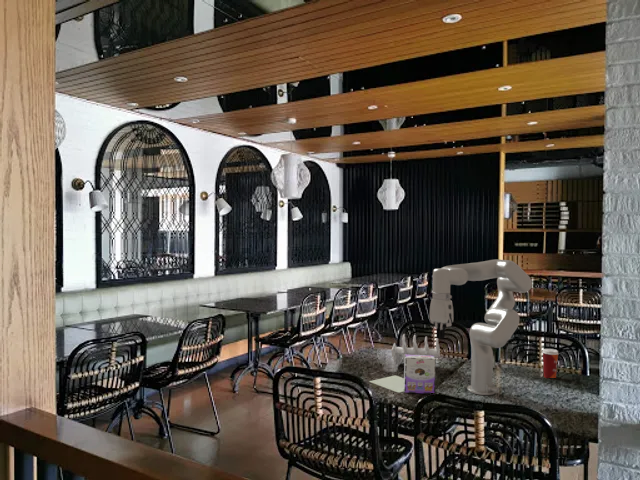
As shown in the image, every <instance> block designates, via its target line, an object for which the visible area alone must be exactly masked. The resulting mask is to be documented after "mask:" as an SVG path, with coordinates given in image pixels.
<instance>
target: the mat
mask: <svg viewBox="0 0 640 480" xmlns="http://www.w3.org/2000/svg"><path fill="white" fill-rule="evenodd" d="M368 383H371V384H374V385H376V386H378V387H382V388H383V389H387V390H389V391H392V392H395V393H397V394H401V393H405V392H404V377H401V376H398V375H391V376H385V377H381V378H377V379H375V380H374V379H373V380H369V381H368Z"/></svg>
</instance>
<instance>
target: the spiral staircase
mask: <svg viewBox="0 0 640 480" xmlns="http://www.w3.org/2000/svg"><path fill="white" fill-rule="evenodd" d="M401 336H402V338H401V346H396V343H395V342H394V343H393V344H392V348H391V357H392V361H393V363H394V365H397V366H400V364H401V363H402V359H403V362H405V354H407V355H427V356H434V357H435V359H436V360H437V358H440V355H441V348H440V344H439V338H437V337H436V339H435V348H429V344H428V336H425V337H424V347H418V344H417V340H416V339H417V336H416V334H414V335H413V337H412V347H407V342H406V333H403V334H402V335H401Z"/></svg>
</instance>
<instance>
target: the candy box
mask: <svg viewBox="0 0 640 480" xmlns="http://www.w3.org/2000/svg"><path fill="white" fill-rule="evenodd" d="M403 362H404V361H403ZM436 363H437V359H435V357H434V356H427V355H407V354H405V362H404V364H403V366H404V367H403V368H404V370H403V378H404V392H403V393H407V394H408V393H409V394H423V395H424V394H425V395H427V394H428V395H432V394H431V393H435V394H436V366H437V365H436Z"/></svg>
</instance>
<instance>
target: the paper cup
mask: <svg viewBox="0 0 640 480" xmlns="http://www.w3.org/2000/svg"><path fill="white" fill-rule="evenodd" d="M541 353H542V362H543V363H542V366H543V377H544V378H545V379H548V378H556V379H557V370H558V361H559V360H558V359H559V350H557V349H554V348H543V349H542V351H541Z"/></svg>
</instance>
